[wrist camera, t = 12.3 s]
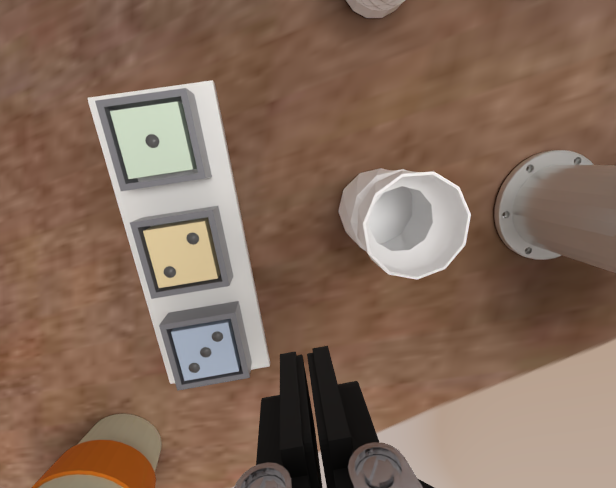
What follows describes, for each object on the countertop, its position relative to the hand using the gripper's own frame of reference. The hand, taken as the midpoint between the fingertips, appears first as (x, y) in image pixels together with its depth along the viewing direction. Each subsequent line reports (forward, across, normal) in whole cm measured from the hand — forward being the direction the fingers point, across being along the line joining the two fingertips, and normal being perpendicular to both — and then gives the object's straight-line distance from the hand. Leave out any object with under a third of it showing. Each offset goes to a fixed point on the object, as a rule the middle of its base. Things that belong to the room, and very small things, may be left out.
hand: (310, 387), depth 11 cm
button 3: (+26, +11, +11) cm, 30 cm away
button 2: (+26, +11, 0) cm, 28 cm away
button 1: (+26, +11, -11) cm, 30 cm away
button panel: (+27, +11, 0) cm, 29 cm away
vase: (+27, -10, -1) cm, 29 cm away
